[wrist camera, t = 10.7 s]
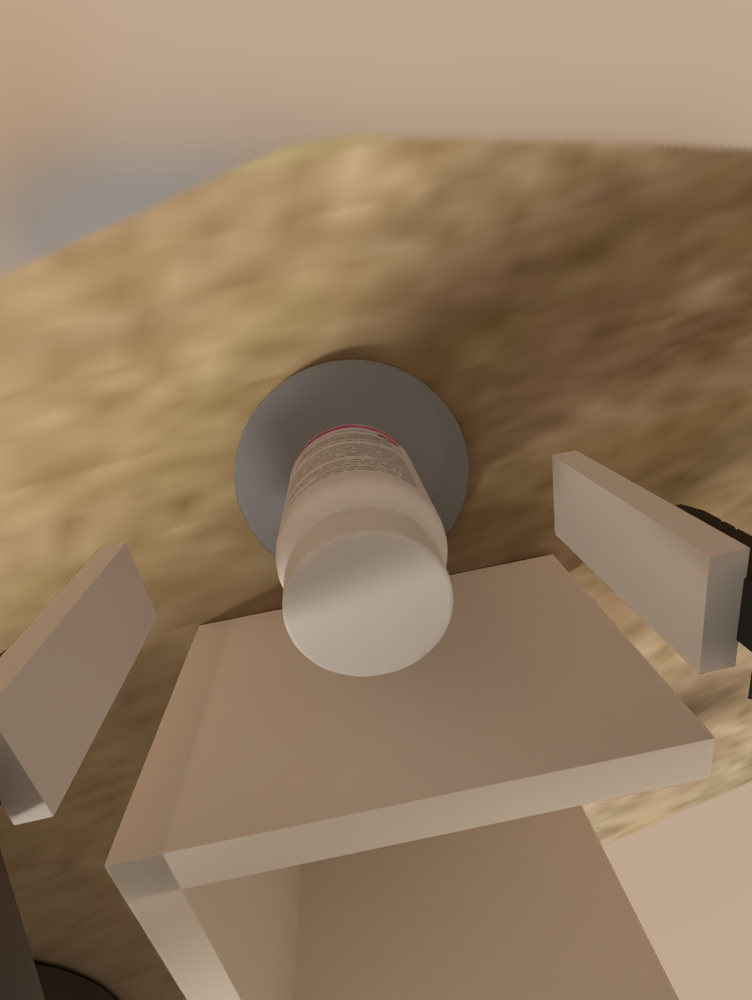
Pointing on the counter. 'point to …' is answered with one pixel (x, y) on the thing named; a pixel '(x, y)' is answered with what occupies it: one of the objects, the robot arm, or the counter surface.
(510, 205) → the counter surface
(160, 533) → the counter surface
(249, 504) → the coaster
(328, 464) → the pill bottle
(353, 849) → the cubby
